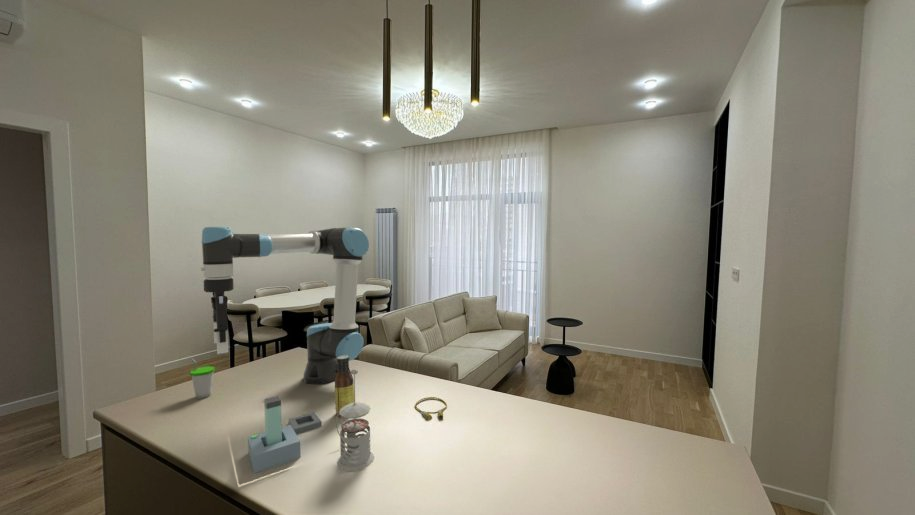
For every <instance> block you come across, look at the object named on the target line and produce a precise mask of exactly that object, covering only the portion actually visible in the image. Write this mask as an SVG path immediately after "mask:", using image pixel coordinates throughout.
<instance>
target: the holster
mask: <svg viewBox="0 0 915 515" xmlns="http://www.w3.org/2000/svg"><path fill="white" fill-rule="evenodd" d="M287 420H288V421H287V422H288V425H291V426H292V428H293V429H294V431H295V433H296V435H297V434H301V433H304V432H308V431H310V430H314V429H317V428H321V427H322V420H321V419H320V417H319V415H317V413H316V412H315V411H312V412H309V413H305V414H302V415H299V416H293V417H290V418H288V419H287Z"/></svg>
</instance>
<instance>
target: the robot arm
mask: <svg viewBox="0 0 915 515" xmlns="http://www.w3.org/2000/svg"><path fill="white" fill-rule="evenodd" d="M232 230H233V229H232V228H231V227H229V226H226V227H225V226H206V227H204V228H203V229H202V231H201V233H202V234H201V245H202V246H201V248H202V264H203V267H200V271H202V272H203V278H205V279H204V280H203V291H204V292H205V293H212V297H210V298H211V299H210V300H211V307H212V312H213V313H212V319H213V320H212V321H213V344H216V354H217V355H220V354H227V353H229V331H228V330H229V325H228V323H229V322H228V297H227V295H225V292H230V291H233V290H234V289H235V288H234V278H232V277H233V276H234V263H233V261H234V260H233V259H235V258H261V257H262V258H263V257H268V256H270V255H273V254H276V255H277V254H289V253H293V254H294V253H309V254H311V255H312V254H313V255H315V254H316V255H317V254H318V255H319V254H321V255H329V256H330V255H331V256H332V260H333V261H334V263H335V264H336V269H335V272H336V273H335V284H334V285H335V286H334V301H333V302H334V305H333V319H332V320H333V322H329V323H328V322H325V323H320V324H314V325H311V326H309V327H308V328H307V331H306V345H307V346H306V348H307V352H306V353H307V362H306V365H305V369H304V372H303V382H305V383H306V384H311V385H312V384H314V385H315V384H316V385H317V384H318V385H319V384H326V383H330V382H331V383H332V382H333V381H334V382H335V376H336V374H337V371H338V370H337V369H338V366H337V357H339V356H343V355H347V356H349V362H350V361H353V360H354V359H356V358H358V356H359V354H361V352H362V351H363V348H364V337H363V336H362V334H361V333H360V332H359V325H358V323H356V313H357V312H356V311H357V310H356V309H357V296H358V295H357V294H358V292H357V291H358V277H359V276H358V275H359V264H361V263H362V262H363V257H364V255H366V254H367V252H368V250H369V247H370V242H369V238H368V235H367V234H366V233H365V232H364V230H362V229H360V228H358V227H332V228H326V229H320V230H309V231H308V232H305V233H297V232H295V233H233V231H232Z"/></svg>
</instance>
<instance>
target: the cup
mask: <svg viewBox="0 0 915 515" xmlns="http://www.w3.org/2000/svg"><path fill="white" fill-rule="evenodd" d="M190 359H191V361H193V364H194V369H191V370H190V371H189V375H190V376H191V379H192V384H193V389H194V394H195V398H196V399H198V400H202V399H206V398H210V397H211V395H212V386H213V380H214V372H215V371H216V368H215V366H211V365H209V366H200V367H197V361H196V360H195V359H194V358H193V357H190Z"/></svg>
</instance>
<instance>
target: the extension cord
mask: <svg viewBox="0 0 915 515" xmlns="http://www.w3.org/2000/svg"><path fill="white" fill-rule="evenodd" d="M427 400H434V401H435V400H436V401H439V402H442V403H443V404H444V405H445V407H444V408H441V409H439V410H437V411H424V410H421V409H420V408H419V407H418V406H417V405H419V404H420V403H421V402H423V401H427ZM447 408H448V404H447V402H446V401H445V400H443V399H441V398H439V397H437V396H431V397H430V396H429V397H428V396H427V397H424V398H421V399H419V400H418V401H416V403H415V404H414V409H415V411H417V412H420V413H421V414H422V416H423V417H424V418H425V419H426V420H431V419H432V418H433V417H432V414H437V416H438V419H439V420H443V419H444V412H445V410H446V409H447Z"/></svg>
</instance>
